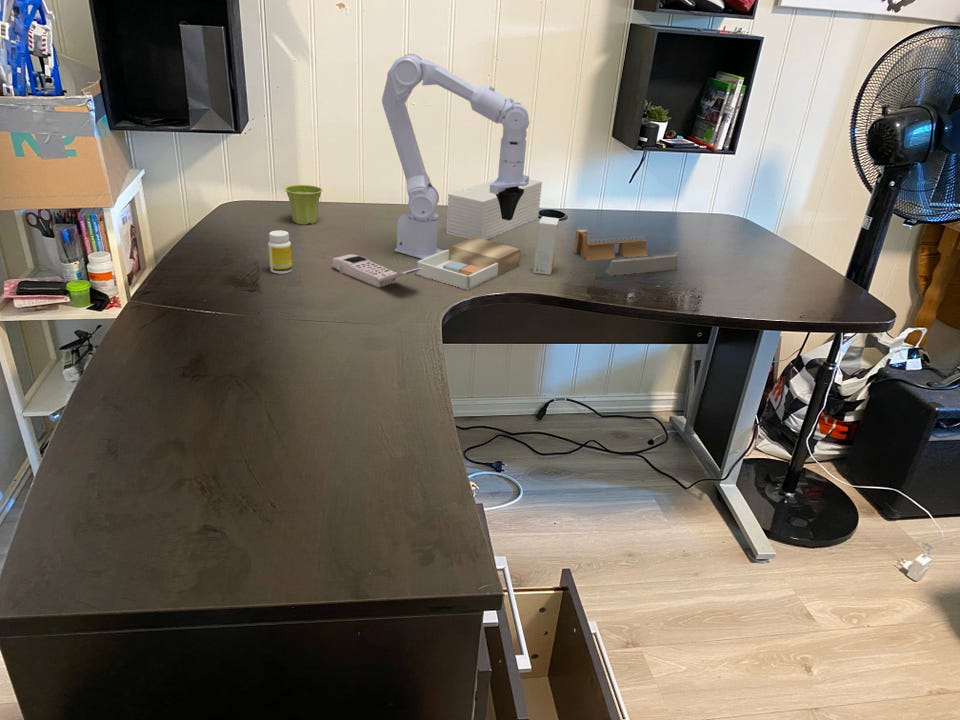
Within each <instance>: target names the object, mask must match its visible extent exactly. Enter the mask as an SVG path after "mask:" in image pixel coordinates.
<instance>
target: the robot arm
mask: <svg viewBox="0 0 960 720" xmlns="http://www.w3.org/2000/svg"><path fill="white" fill-rule="evenodd" d="M421 82H422V83H421ZM420 83H421V85H422V86H432V85H433V86H435V85H437V86H439V87H441V88H442V89H444V90H446V91H449V92H451V93H452V94H454V95H457V96H458V97H460V98H463V100H466V101H468V102H469V104H470V107H471V110H472V111H474V112H475V113H477V114H479V115H481V116H482V117H484V118H485V119H488V120H490V121H492V122H493V123H495V124H501V125H502V137H501V140H500V150H499V160H498V161H499V162H498V174H497V178H496V179H494V180H495V182H494V183H492V184H490V193H494V194H496V196H497V198H498V201H499V205H500V210H501V216H502V219H504V220H512V218H513V215H514V212H515V209H516V206H517V204H518V202H519V200H520V198H521V196H522V195H523V193H524V189H521V188H518V187H519V186H526V185H527V184H529V179H530V176H529V175H525V174H524V170H525V161H526V150H527V139H526V138H527V135H528V134H527V133H528V132H527V129H528V128H529V125H530V119H529V113H528V110H527V109H526V107H525V106H524V105H522V103H521V102H518V101H516V102H515V98H512V97H510V98H507V97H506V96H504V95H503V94H500V93H499V92H497V91H495V90H496V87H494V86H492V85H489V86H487V85H481V86H478V87H477V86H474V85H472V84H471V83H469V82H467V81H466V80H464V79H463V78H461V77H459V76H458V75H456V74H454V73H452V71H449V70H448V69H446V68H444V67H443V66H441V65H440V64H438V63H436V62H434V61H431V60H429V59H426V58H423V59H422V57H420V56H419V55H418V54H414V53H407V54H404V55H403V56H400V57H399V58H397V59H396V60H395V61H394V62H393V64H392V65H391V67H390V68H389V70H388V71H387V76H386V81H385V85H384V89H383V94H382V98H381V105H382V107H383V111H384V114H385V116H386V119H387V124H388V127H389V129H390V132H391V135H392V139H393V142H394V145H395V146H394V147H395V148H396V151H397V155H398V158H399V161H400V165H401V167H402V170H403V174H404V178H405V181H406V182H405V183H406V192H407V195H408V204H407V208H408V212H404V213H402V214H401V215H400V216H399V218H398V220H397V226H396V248H395V249H394V251H395V252H397V253H401V254H404V255H408V256H411V257H414V258H417V259H420V260H422V259H425V258H427V257H430V256H432V255H435V254H437V253H440V252H442V251H445V250H444V249H441V248H438V243H439V241H438V239H439V237H438V235H439V213H438V212H437V211H436V206H437V205H438V203H439V201H440V195H439V192H438V190H437V189H436V187H434V186H433V184H432V182H431V179H430V176H429V175H428V173H427V172H426V167H425V164H424V160H423V158H422V155H421V151H420V149H419V145H418V141H417V138H416V134H415V131H414V128H413V124H412V121H411V118H410V114H409V112H408V107H407V105H406V103H407V101H408V99H409V98H410V96H411V94H412V92H413V90H414V89H415V88H416V87H417V86H418V85H419V84H420Z"/></svg>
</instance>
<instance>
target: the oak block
mask: <svg viewBox="0 0 960 720" xmlns="http://www.w3.org/2000/svg"><path fill="white" fill-rule="evenodd" d="M521 250H522V249H521V248H518V247H514V246H511V245H506V244H503V243H498V242H495V241H491V240H489V239H487V240H484V239H480V238H476V237H473V238H471V239H465V240H464V241H461V242H459V243H456V244H454V245H451V246H450V257H449V260H450V261H455V262H459V263H462V264H466V265H468V266H469V265H473V266H477V267H481V268H486V267H488V266H490V265H492V264H495V263H498V273H497V276H496V277H498V276H500V275H502V274H504V273H506V272H508V271H510V270H512V268H513V269H514V267H515V268H517V267H519V266H520V260H521Z"/></svg>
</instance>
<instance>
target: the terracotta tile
mask: <svg viewBox="0 0 960 720" xmlns="http://www.w3.org/2000/svg"><path fill="white" fill-rule="evenodd" d="M482 269H484V268H481V267H477V266H473V265H469V266H466V267H464V268H462V269H461V270H460V274H464V275H467V276H469V275H471V274H473V273H475V272H477V271H479V270H482Z"/></svg>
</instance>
